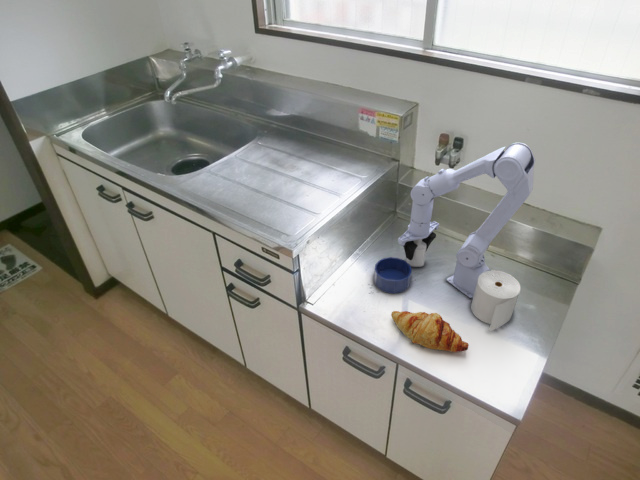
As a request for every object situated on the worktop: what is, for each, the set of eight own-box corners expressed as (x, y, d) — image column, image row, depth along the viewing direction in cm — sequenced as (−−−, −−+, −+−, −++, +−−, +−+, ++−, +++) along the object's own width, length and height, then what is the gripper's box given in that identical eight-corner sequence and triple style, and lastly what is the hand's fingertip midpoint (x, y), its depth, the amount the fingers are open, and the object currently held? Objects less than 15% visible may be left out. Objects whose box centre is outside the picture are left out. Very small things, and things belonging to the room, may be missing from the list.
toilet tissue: (497, 293, 129) (505, 267, 123) (522, 324, 120) (532, 297, 114) (463, 300, 127) (470, 274, 121) (486, 332, 118) (494, 305, 112)
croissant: (385, 333, 123) (379, 324, 116) (401, 301, 126) (396, 290, 119) (461, 368, 113) (459, 361, 106) (476, 333, 116) (476, 323, 109)
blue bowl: (417, 283, 133) (419, 271, 130) (390, 298, 129) (391, 286, 126) (393, 264, 140) (394, 252, 137) (366, 278, 136) (367, 266, 133)
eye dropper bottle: (418, 270, 138) (423, 239, 130) (403, 263, 141) (406, 232, 133) (426, 263, 140) (431, 232, 133) (410, 256, 143) (414, 225, 136)
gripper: (429, 203, 136) (423, 239, 144) (392, 220, 130) (389, 256, 138) (446, 214, 131) (440, 251, 139) (409, 232, 125) (404, 269, 133)
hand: (415, 254), depth 138 cm, fingers closed on eye dropper bottle, 5 cm apart
